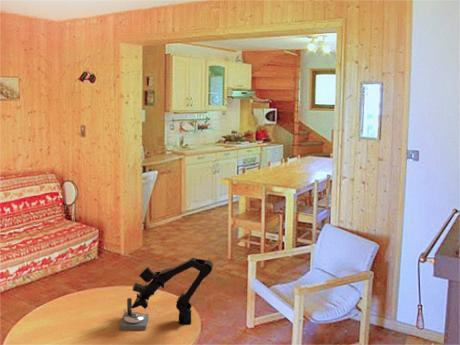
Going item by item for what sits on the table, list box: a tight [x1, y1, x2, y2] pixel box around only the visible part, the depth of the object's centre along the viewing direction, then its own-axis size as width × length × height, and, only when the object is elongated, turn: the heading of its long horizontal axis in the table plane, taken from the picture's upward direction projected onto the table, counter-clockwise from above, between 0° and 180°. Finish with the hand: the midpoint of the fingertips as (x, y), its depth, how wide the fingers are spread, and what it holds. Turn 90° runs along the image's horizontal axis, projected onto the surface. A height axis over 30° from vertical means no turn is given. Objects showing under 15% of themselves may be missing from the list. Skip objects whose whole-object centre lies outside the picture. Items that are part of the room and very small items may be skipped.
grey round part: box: [124, 297, 145, 324], centre depth 275 cm, size 11×13×10 cm
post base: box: [118, 308, 150, 331], centre depth 275 cm, size 14×14×6 cm
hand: (132, 307), depth 278 cm, fingers closed, pressing on grey round part
